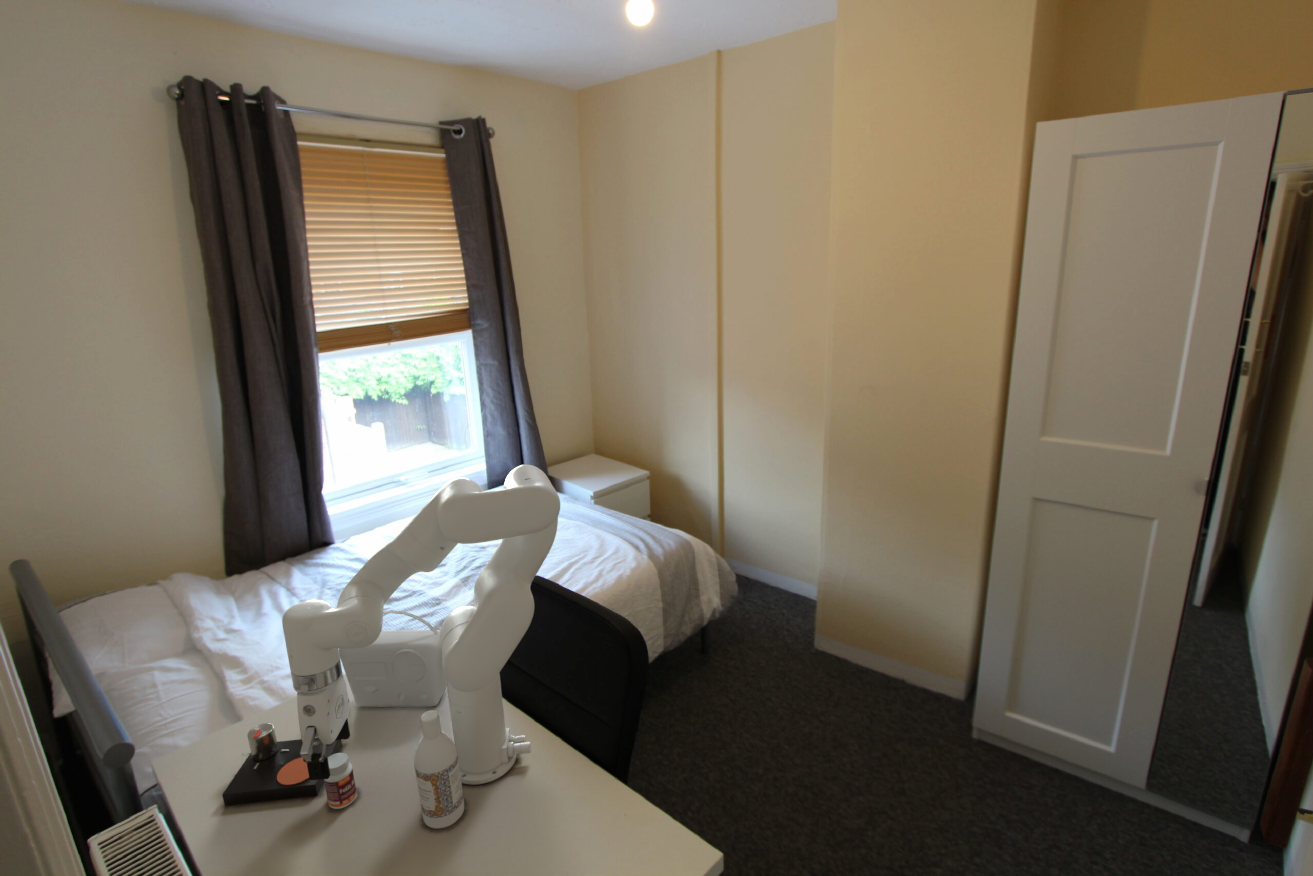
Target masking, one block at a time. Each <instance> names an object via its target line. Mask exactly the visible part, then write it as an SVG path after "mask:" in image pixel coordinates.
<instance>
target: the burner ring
mask: <svg viewBox="0 0 1313 876" xmlns="http://www.w3.org/2000/svg"><path fill="white" fill-rule="evenodd" d="M308 778H309V773H308V768H307V763H305V762H304V761H303V758H302V757H301V758H298V759H295V760H293V761H291V762H289V763H287V764H286V765H285V766H284V767H282V768H281V770H280V771H279V772H278V775H277V781H278V782H279V783H280V784H282V785H295V784H298V783H301V782H303V781H305V780H307V779H308Z"/></svg>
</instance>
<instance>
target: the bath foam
mask: <svg viewBox="0 0 1313 876" xmlns="http://www.w3.org/2000/svg"><path fill="white" fill-rule="evenodd" d="M420 726H421V732H422V736H421V737H420V740H419V742H418V744H417V745H416V748H415V751H414V756H413V758H414V759H413V763H414V771H415V777H416V778H415V779H416V783H417V791H418V797H419V803H420V808H421V815H422V819H423V822H424V824H425V825H426V826H428V827H429V828H432V829H439V830H440V829H444V828H447V827H450V826H452V825H454V824H455V823H456V822H457V821H459V819H460V818H461V817H462V816H463V814H464V811H465V800H464V791H463V783H461V776H460V769H459V762H458V755H457V750H456V747H455V742H454V740H453V739H452V738H451V737H450V736H449V735H448V734H447V733H446V732H444V731H443V730H442V725H441V719H440V713H439V712H438V711H437V710H434V709H433V710H428V711H425V712H424V713H423V714H421V716H420Z"/></svg>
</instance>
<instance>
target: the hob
mask: <svg viewBox="0 0 1313 876" xmlns="http://www.w3.org/2000/svg"><path fill="white" fill-rule="evenodd" d="M314 741H321V740H320V739H319V737H315V740H314ZM277 744H278V751H277V752H276V753H275V754H274V755H273V756H272V757H270V758H268V759H265V760H261V761H256V760H254V759H253V758H252V754H251V752H249V753H248V752H247V753H242V754H241V756H242V757H243V756H244V757H245V756H247V757H246V759H245V760H244V761H243V763H242V765H241V766H240V768H239V769H238V771H237V772H236V773H235V775H234V776H233V778H232V779H231V781H230V782H229V783H228V786H227V787H226V788H225V790H224V791H223V793H222V794H221V796H222V799H223V804H224V806H225V807H228V806H235V805H237V806H238V805H246V804H254V803H255V804H256V803H263V802H265V803H266V802H274V801H282V800H292V799H301V798H309V797H318V796H319V794H320V792H321V789H322V788H323V786H324V785H325V784H324V779H322V780H310V779H309V778H308V779H307V780H305V781H303V782H301V783H298V784H295V785H282V784H280V783H279V782H278V781H277V775H278V772H279V771H280V770H281V768H282V767H284V766H285V765H286V764H287V763H289V762H291V761H293V760H295V759H298V758H301V755H300V751H301V748H302V744H303V742H302V738H301V739H290V740H289V739H288V740H281V741H277ZM342 748H343V741H342V740H335V741H334V742H333V743H332V744H326V751H325V757H329V756H331V755H333V754H336V753H341V750H342ZM312 750H313V753H319V752H320V745H314V746H313V747H312Z"/></svg>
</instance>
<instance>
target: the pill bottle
mask: <svg viewBox="0 0 1313 876" xmlns="http://www.w3.org/2000/svg"><path fill="white" fill-rule="evenodd" d="M328 764H329V770H330V777H329V779H324V784H323V785H324V790H325V794H326V799H327V804H328V806H329V807H330V808H332V809H334V810H340V809H344V808H346V807H348V806H350V805H351V804H352V803H353V802H354V801H355V800H356V799H357V796H358V792H357V786H356V785H357V784H356V780H355V774H354V769H353V765H352V763H350V759H349V755H348V754H347V753H345V752H339V753H336V754H333V755H331V756H329V757H328Z"/></svg>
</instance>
